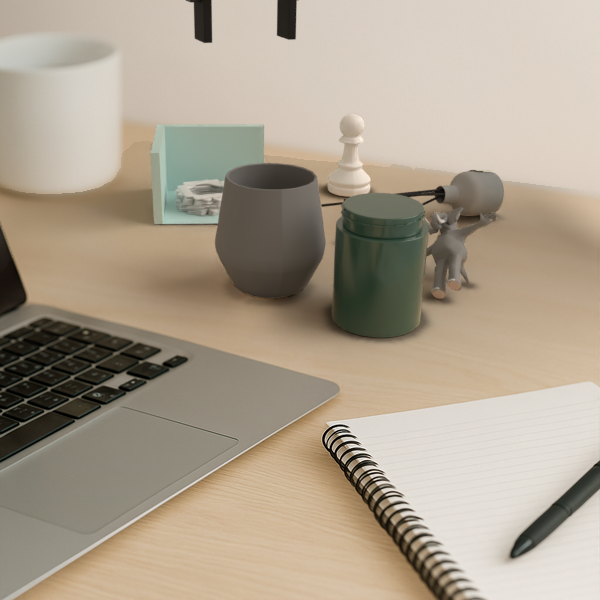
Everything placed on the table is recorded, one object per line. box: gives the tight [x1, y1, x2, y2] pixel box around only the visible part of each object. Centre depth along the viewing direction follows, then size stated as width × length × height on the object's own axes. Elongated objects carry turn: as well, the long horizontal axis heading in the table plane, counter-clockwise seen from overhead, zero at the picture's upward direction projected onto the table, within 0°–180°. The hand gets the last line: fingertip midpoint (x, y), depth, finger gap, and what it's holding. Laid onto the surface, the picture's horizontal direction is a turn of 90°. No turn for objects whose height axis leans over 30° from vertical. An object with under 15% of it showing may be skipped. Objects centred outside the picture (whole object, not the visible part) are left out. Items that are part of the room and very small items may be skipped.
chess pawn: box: [327, 113, 372, 198], centre depth 95 cm, size 5×5×9 cm
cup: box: [214, 162, 327, 299], centre depth 70 cm, size 10×9×10 cm
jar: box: [331, 192, 430, 339], centre depth 65 cm, size 7×7×10 cm
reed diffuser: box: [321, 169, 505, 217], centre depth 86 cm, size 10×7×20 cm
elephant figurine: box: [423, 207, 498, 300], centre depth 73 cm, size 10×6×9 cm
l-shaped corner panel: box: [149, 123, 265, 225], centre depth 90 cm, size 12×12×8 cm
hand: (245, 38), depth 77 cm, fingers closed on jar lid, 7 cm apart
